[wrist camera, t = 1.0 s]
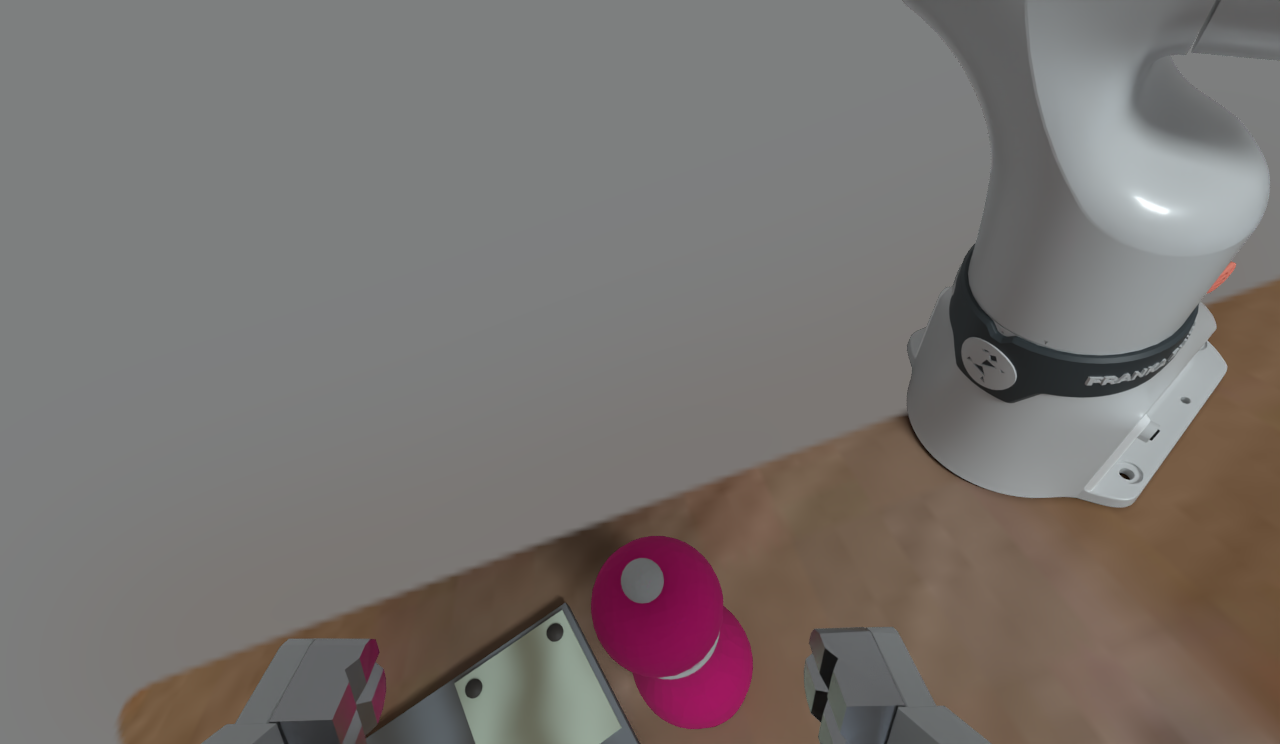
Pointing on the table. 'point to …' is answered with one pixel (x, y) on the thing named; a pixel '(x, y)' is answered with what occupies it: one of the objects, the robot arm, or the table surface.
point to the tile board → (521, 696)
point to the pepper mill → (672, 631)
